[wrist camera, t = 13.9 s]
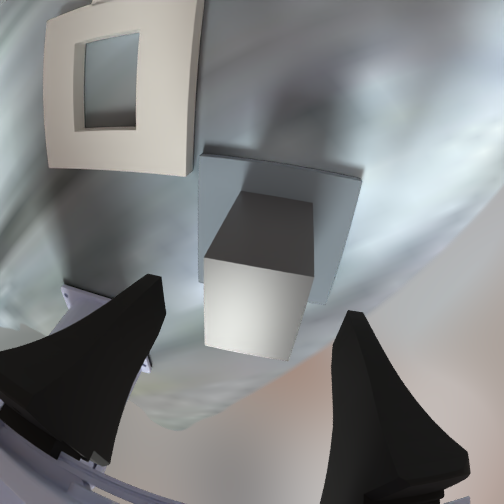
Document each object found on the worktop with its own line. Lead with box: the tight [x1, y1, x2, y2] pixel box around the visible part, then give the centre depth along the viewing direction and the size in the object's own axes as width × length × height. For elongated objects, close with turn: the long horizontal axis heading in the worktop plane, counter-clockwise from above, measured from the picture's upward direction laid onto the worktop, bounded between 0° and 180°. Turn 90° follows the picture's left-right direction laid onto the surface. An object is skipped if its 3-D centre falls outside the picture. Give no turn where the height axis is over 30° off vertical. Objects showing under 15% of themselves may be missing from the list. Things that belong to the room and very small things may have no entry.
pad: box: [198, 153, 362, 305], centre depth 16 cm, size 8×8×1 cm
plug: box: [204, 191, 314, 361], centre depth 13 cm, size 5×4×6 cm
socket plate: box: [43, 0, 205, 177], centre depth 9 cm, size 12×10×6 cm
